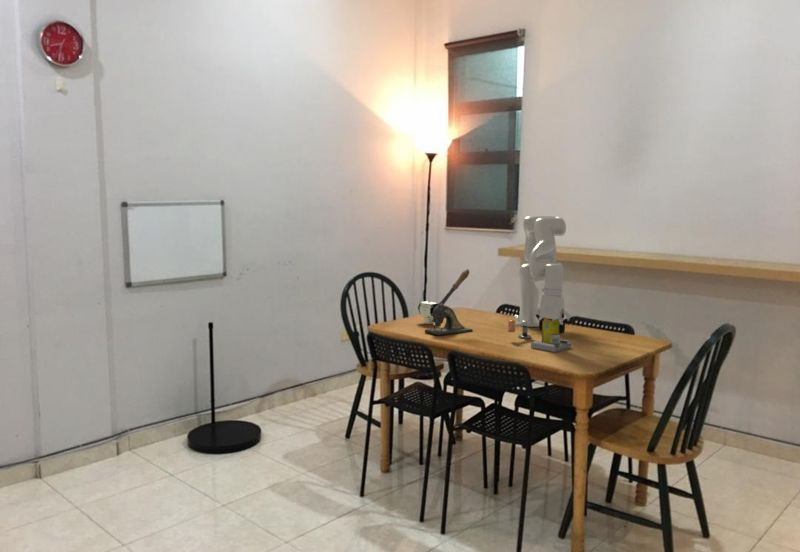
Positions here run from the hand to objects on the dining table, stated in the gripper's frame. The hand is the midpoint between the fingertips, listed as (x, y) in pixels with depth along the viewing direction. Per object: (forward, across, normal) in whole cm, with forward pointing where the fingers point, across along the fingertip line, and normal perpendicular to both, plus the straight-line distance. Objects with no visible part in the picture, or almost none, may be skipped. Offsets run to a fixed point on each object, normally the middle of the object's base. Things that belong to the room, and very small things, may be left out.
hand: (551, 331), depth 283 cm
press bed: (+7, 0, 0) cm, 7 cm away
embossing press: (+8, -52, -6) cm, 53 cm away
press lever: (+3, -20, +5) cm, 21 cm away
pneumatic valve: (+8, -73, +2) cm, 73 cm away
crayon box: (+5, 0, 0) cm, 5 cm away
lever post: (+7, -20, +10) cm, 23 cm away
